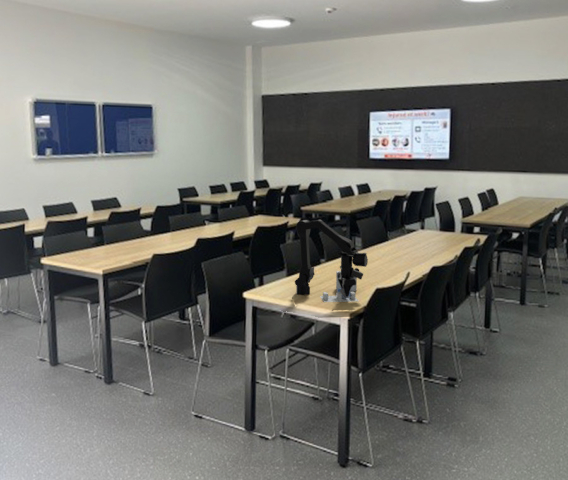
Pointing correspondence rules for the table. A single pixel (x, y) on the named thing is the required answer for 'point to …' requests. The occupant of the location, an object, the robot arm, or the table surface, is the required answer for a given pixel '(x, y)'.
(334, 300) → the white base plate
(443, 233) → the table surface
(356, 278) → the light bulb box
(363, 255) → the robot arm
